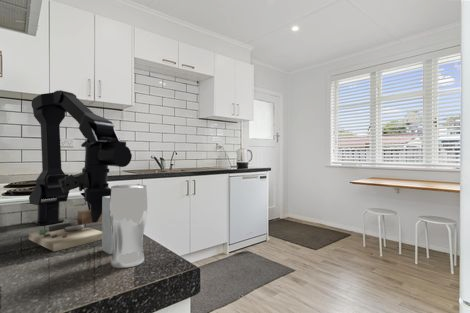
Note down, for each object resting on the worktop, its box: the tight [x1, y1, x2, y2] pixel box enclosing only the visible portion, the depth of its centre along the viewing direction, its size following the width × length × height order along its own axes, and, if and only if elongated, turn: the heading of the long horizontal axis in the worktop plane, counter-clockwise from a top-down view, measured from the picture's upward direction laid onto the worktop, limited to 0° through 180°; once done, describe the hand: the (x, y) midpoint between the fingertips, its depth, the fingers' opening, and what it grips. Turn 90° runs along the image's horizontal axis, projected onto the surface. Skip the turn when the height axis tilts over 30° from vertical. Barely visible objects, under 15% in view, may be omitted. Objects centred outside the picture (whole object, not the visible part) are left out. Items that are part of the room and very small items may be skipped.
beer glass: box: [109, 184, 148, 269], centre depth 51 cm, size 7×7×15 cm
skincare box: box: [101, 196, 114, 255], centre depth 58 cm, size 6×4×12 cm
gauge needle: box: [48, 209, 102, 232], centre depth 69 cm, size 13×4×4 cm, turn 147°
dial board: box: [27, 225, 102, 252], centre depth 65 cm, size 14×12×2 cm
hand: (93, 220), depth 72 cm, fingers open, 4 cm apart
